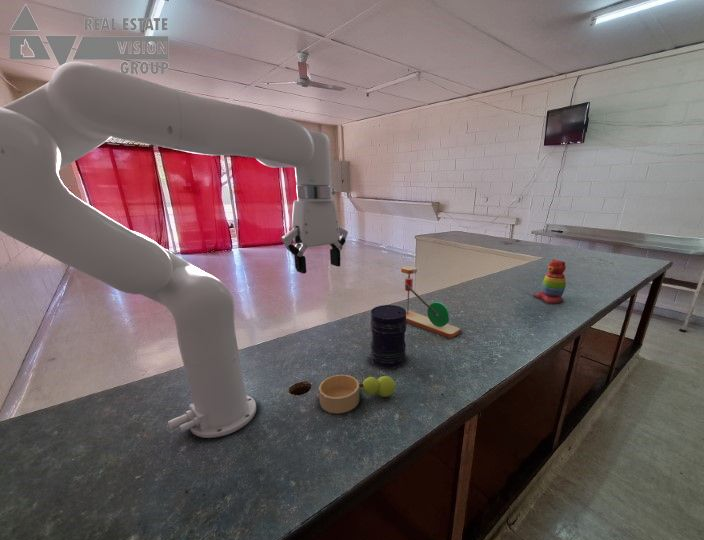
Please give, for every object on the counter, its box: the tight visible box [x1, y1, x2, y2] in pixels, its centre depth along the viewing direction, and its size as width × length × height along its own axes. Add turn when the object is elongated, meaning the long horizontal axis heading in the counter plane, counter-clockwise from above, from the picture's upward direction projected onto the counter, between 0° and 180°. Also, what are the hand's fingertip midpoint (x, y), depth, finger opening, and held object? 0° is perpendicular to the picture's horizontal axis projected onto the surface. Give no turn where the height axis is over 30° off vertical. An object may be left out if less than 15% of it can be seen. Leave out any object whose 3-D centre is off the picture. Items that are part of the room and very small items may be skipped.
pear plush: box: [359, 375, 396, 398], centre depth 74 cm, size 5×5×9 cm
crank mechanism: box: [400, 265, 461, 339], centre depth 111 cm, size 25×7×19 cm, turn 49°
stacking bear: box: [534, 258, 567, 304], centre depth 140 cm, size 11×10×18 cm
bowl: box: [318, 374, 360, 414], centre depth 73 cm, size 9×9×4 cm
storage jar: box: [370, 304, 407, 369], centre depth 88 cm, size 10×10×15 cm
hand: (319, 268), depth 76 cm, fingers open, 9 cm apart
